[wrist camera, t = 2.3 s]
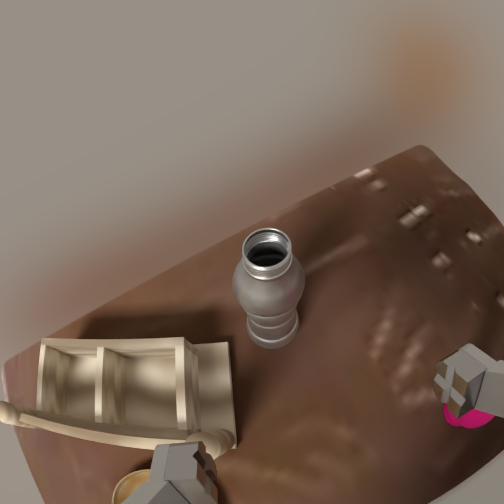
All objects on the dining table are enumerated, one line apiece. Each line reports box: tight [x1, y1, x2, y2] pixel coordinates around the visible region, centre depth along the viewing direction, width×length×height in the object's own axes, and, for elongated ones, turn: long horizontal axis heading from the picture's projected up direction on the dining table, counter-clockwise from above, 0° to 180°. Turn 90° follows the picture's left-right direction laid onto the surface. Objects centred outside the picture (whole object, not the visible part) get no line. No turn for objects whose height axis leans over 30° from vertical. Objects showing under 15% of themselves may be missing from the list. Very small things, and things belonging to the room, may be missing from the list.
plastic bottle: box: [232, 228, 305, 349], centre depth 30 cm, size 6×7×20 cm
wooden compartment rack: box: [0, 337, 237, 460], centre depth 29 cm, size 14×30×12 cm, turn 95°
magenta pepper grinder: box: [443, 403, 495, 428], centre depth 20 cm, size 7×7×20 cm
